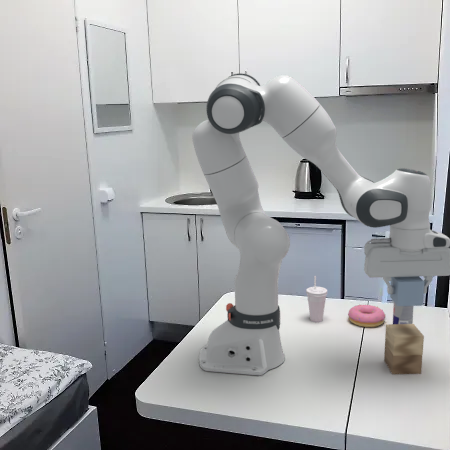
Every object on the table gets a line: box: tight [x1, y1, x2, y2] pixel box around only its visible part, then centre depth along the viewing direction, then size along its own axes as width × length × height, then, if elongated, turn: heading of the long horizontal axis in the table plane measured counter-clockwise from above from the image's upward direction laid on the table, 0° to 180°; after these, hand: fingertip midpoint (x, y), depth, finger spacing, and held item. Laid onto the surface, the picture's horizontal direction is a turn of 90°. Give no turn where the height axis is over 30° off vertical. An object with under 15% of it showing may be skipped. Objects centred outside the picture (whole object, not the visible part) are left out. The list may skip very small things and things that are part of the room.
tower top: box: [384, 323, 425, 356], centre depth 127 cm, size 7×7×5 cm
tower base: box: [383, 342, 423, 375], centre depth 129 cm, size 7×7×5 cm
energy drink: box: [392, 301, 415, 324], centre depth 147 cm, size 5×5×12 cm
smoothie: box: [305, 275, 328, 323], centre depth 157 cm, size 6×6×14 cm
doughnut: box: [347, 304, 386, 328], centre depth 156 cm, size 11×11×4 cm
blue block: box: [389, 276, 425, 307], centre depth 125 cm, size 6×6×6 cm
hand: (406, 293), depth 125 cm, fingers closed on blue block, 6 cm apart
